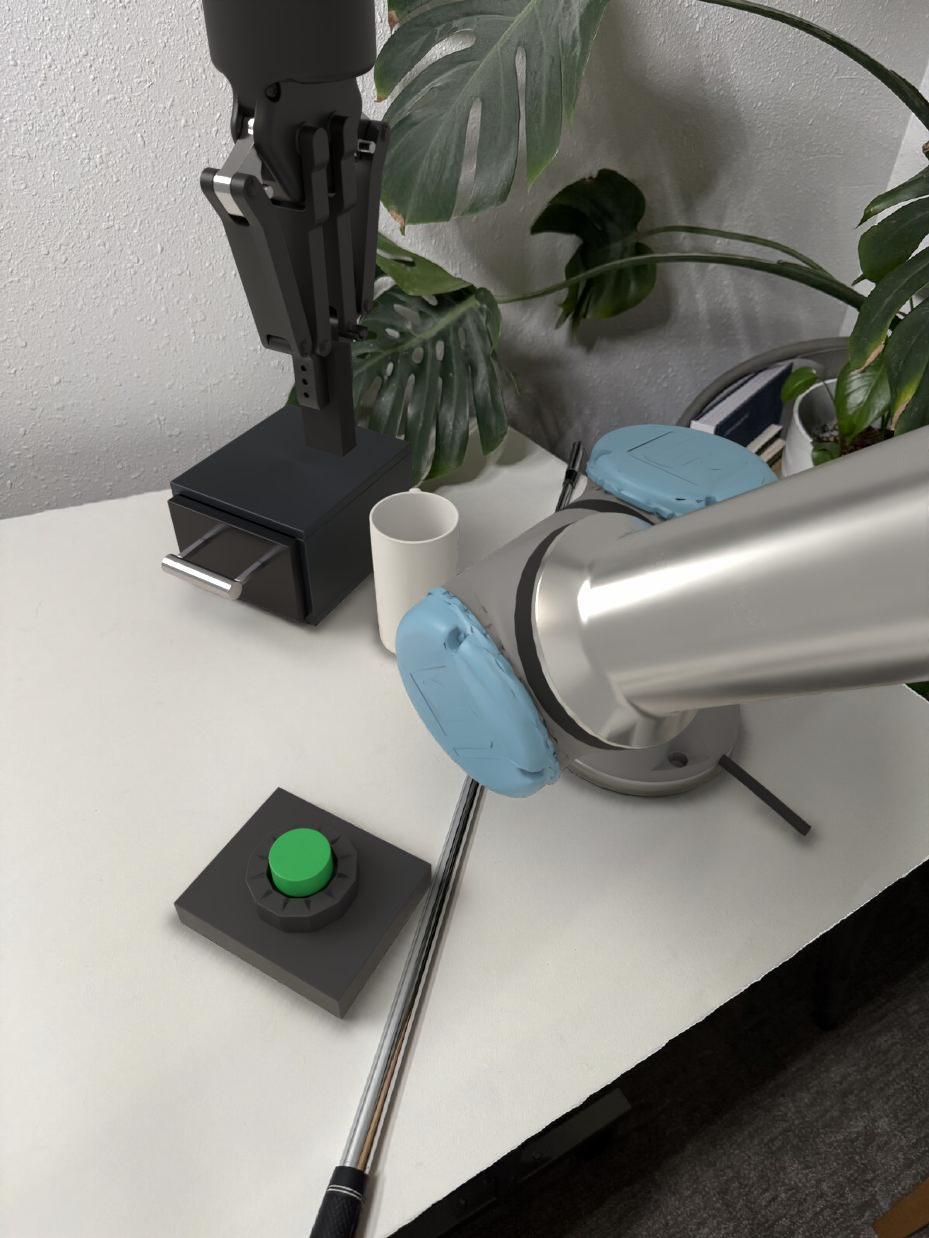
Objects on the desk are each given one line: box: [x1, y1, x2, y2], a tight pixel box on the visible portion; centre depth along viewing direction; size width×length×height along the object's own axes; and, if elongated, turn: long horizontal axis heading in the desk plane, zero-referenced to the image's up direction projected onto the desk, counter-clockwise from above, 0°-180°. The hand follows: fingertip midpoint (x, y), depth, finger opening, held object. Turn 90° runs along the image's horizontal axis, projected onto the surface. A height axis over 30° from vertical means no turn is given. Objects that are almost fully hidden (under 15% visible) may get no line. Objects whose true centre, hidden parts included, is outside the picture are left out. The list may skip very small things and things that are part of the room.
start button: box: [269, 828, 333, 897], centre depth 52 cm, size 4×4×2 cm
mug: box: [370, 487, 460, 655], centre depth 71 cm, size 10×7×12 cm, turn 2°
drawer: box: [161, 494, 308, 624], centre depth 76 cm, size 19×13×8 cm, turn 151°
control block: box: [173, 786, 433, 1020], centre depth 54 cm, size 12×10×4 cm
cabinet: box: [169, 403, 414, 627], centre depth 79 cm, size 16×14×10 cm
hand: (331, 445), depth 54 cm, fingers closed
